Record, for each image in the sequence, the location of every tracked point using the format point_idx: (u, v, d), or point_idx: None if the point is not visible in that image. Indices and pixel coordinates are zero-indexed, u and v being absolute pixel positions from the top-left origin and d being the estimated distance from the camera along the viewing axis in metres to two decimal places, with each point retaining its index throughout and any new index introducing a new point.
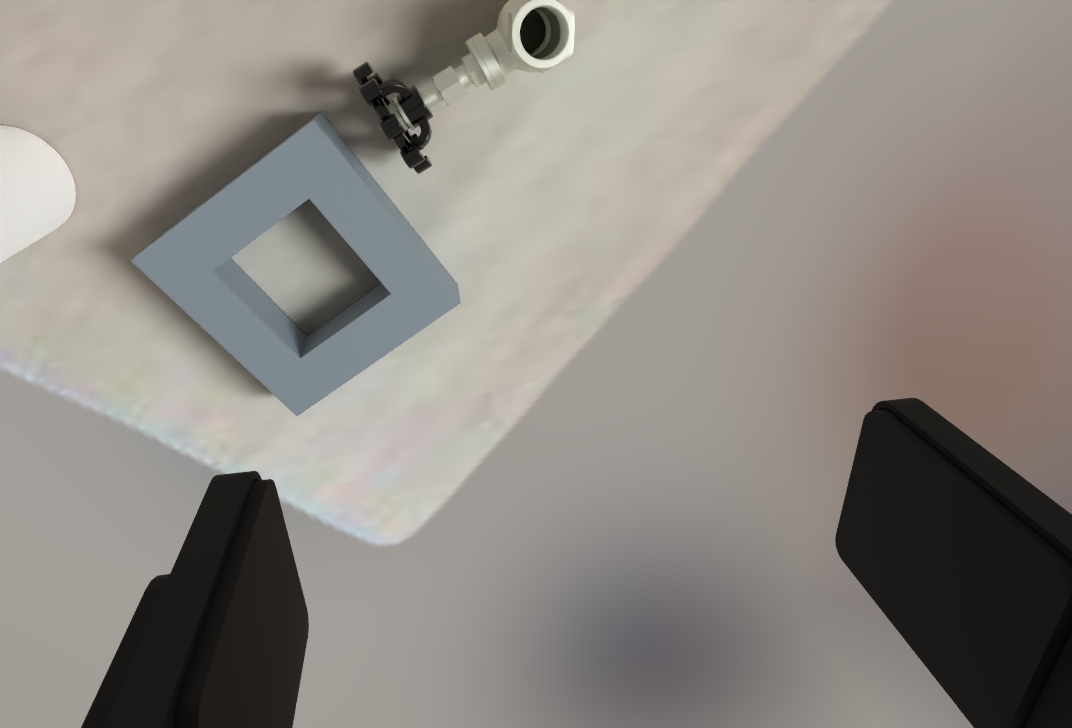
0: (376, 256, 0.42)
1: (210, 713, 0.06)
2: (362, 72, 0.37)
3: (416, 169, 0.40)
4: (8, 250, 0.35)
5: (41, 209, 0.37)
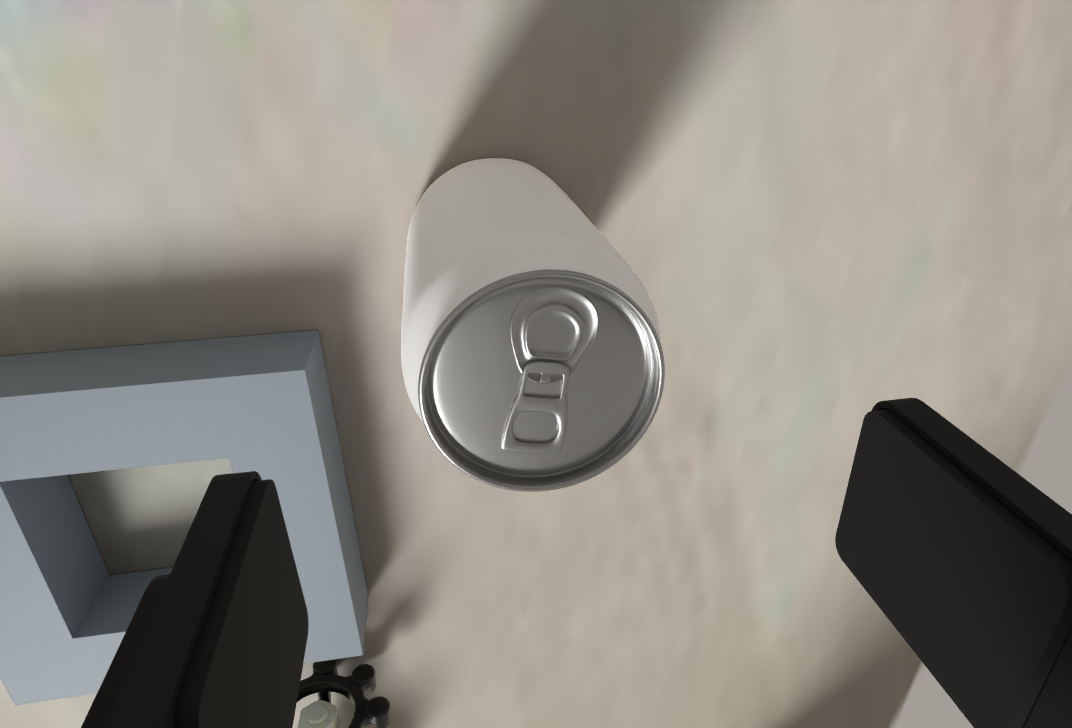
0: None
1: (210, 713, 0.06)
2: (382, 722, 0.31)
3: None
4: None
5: None
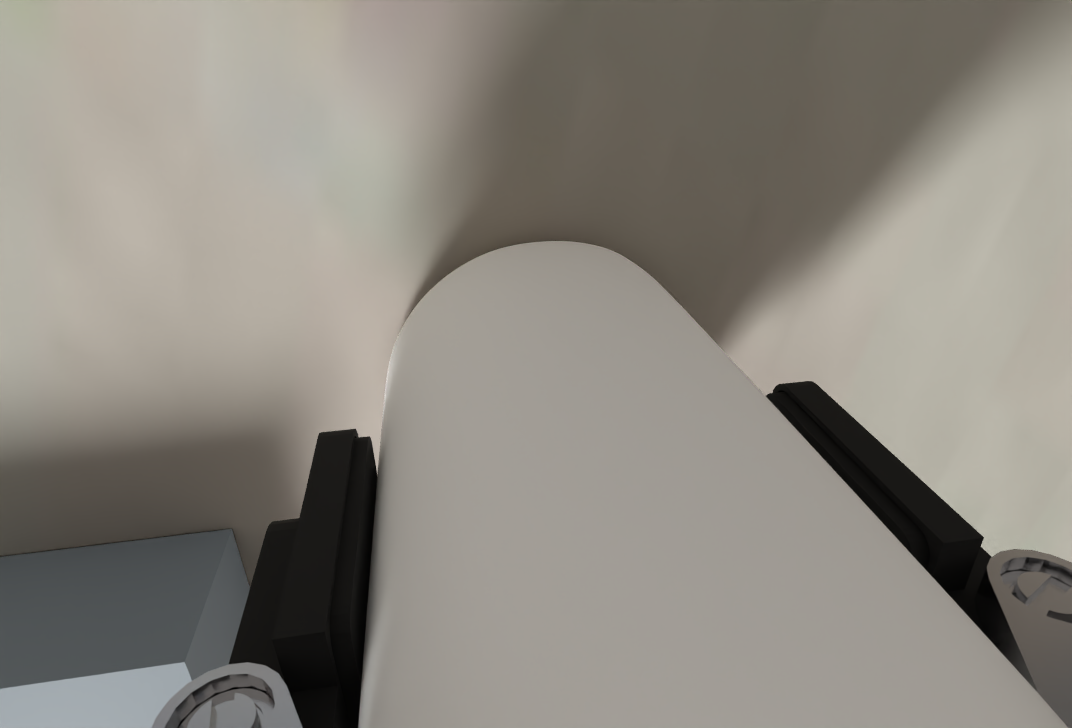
0: None
1: (355, 625, 0.07)
2: None
3: None
4: None
5: None
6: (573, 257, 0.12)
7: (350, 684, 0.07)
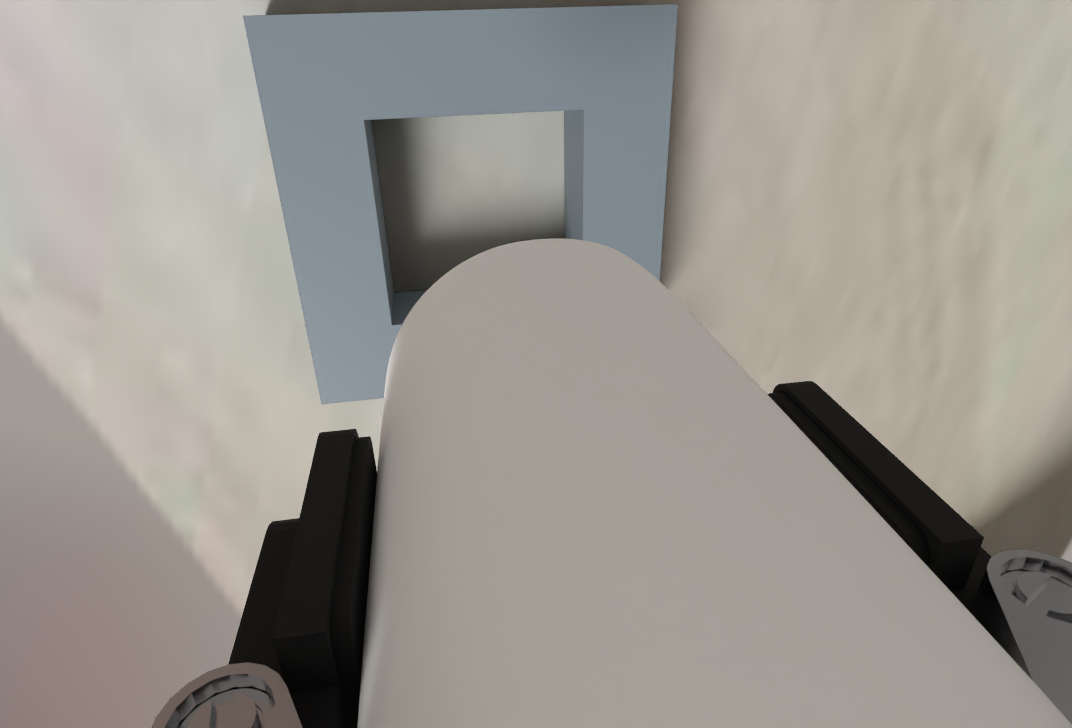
0: None
1: (354, 625, 0.07)
2: None
3: None
4: None
5: None
6: (573, 254, 0.12)
7: (350, 684, 0.07)
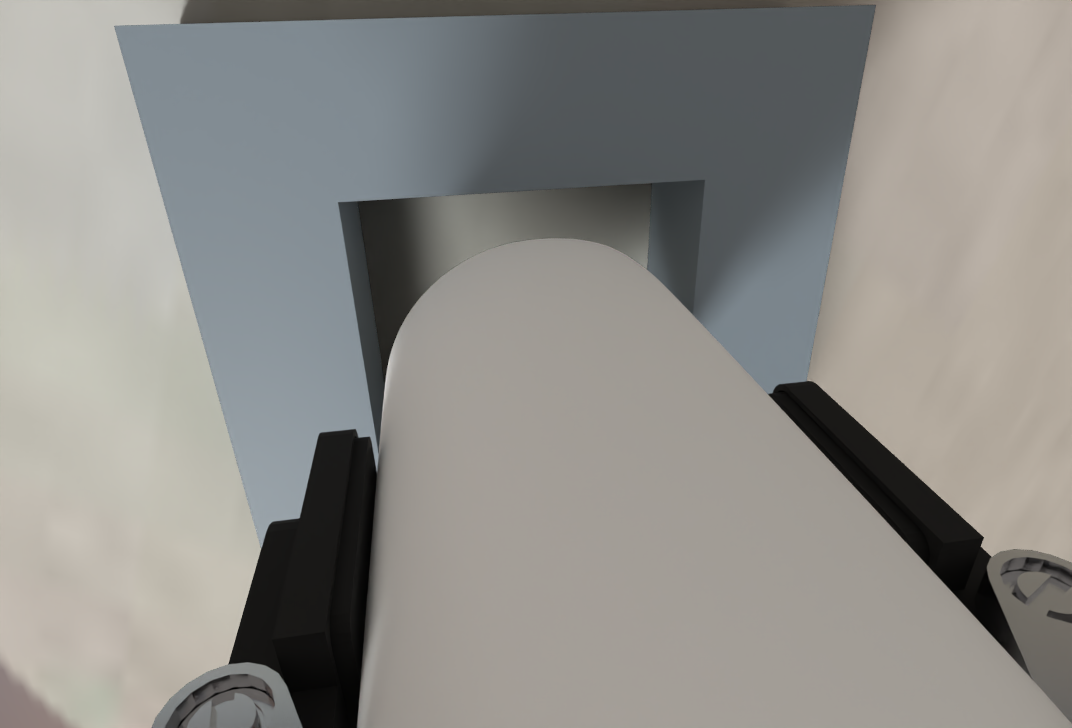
0: None
1: (355, 625, 0.07)
2: None
3: None
4: None
5: None
6: (573, 254, 0.12)
7: (350, 684, 0.07)
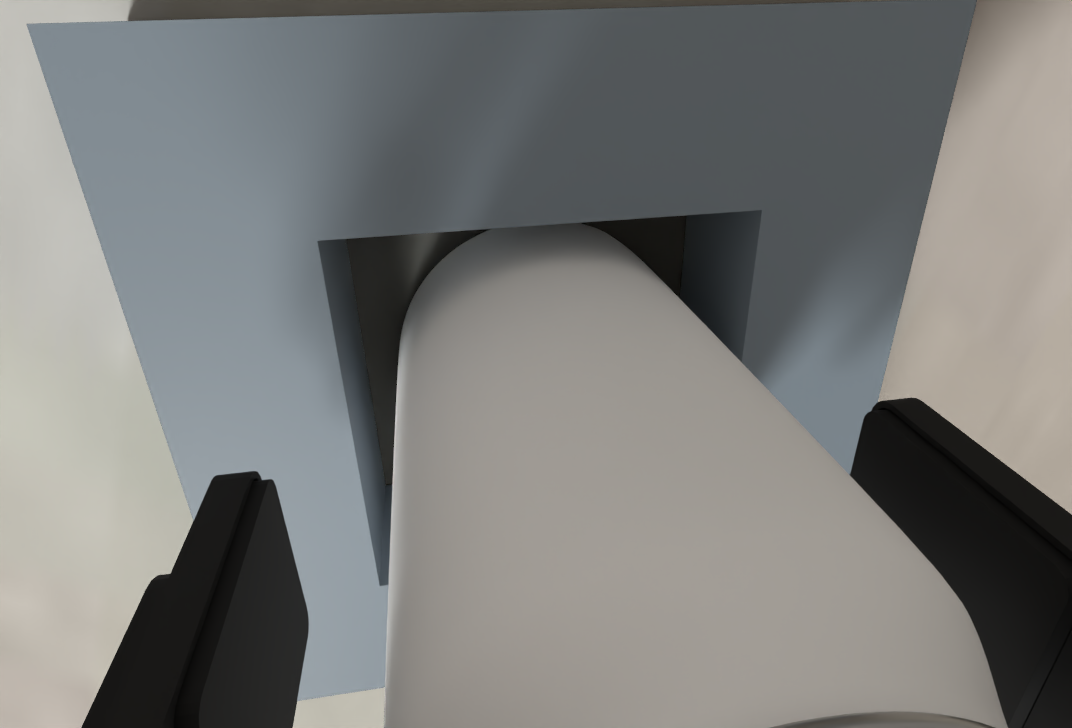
0: None
1: (211, 713, 0.06)
2: None
3: None
4: None
5: None
6: (563, 232, 0.14)
7: None
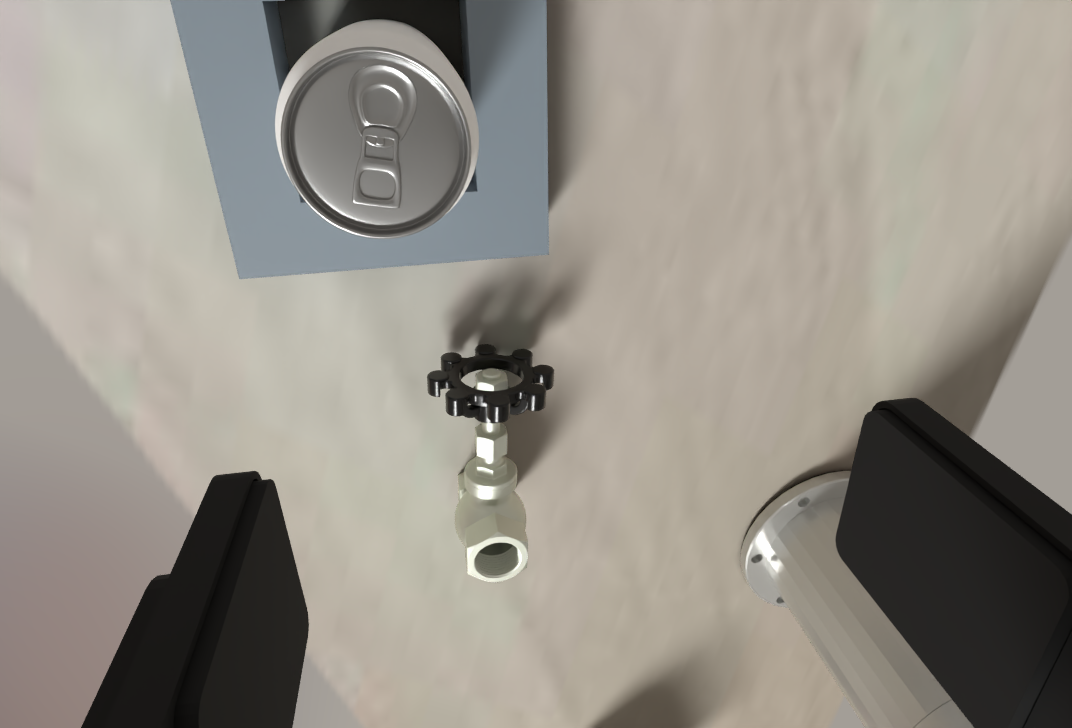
0: None
1: (210, 713, 0.06)
2: (549, 381, 0.35)
3: (435, 382, 0.34)
4: None
5: None
6: (385, 19, 0.28)
7: None
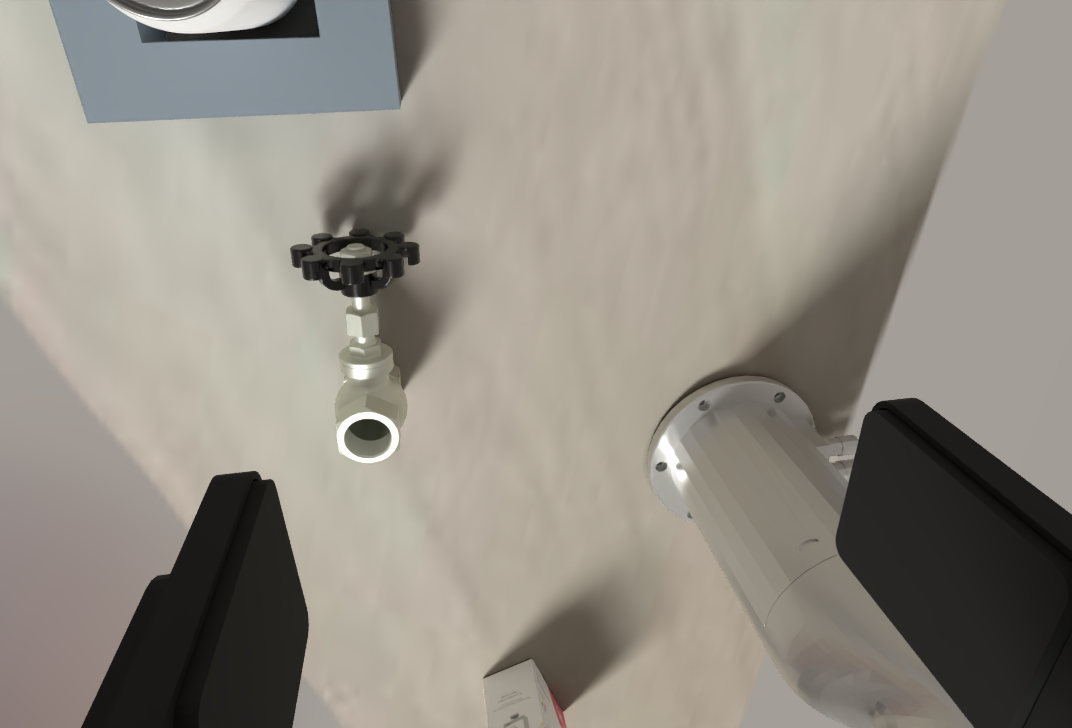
0: (207, 63, 0.30)
1: (210, 713, 0.06)
2: (413, 256, 0.36)
3: (296, 252, 0.34)
4: None
5: None
6: None
7: None
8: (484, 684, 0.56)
